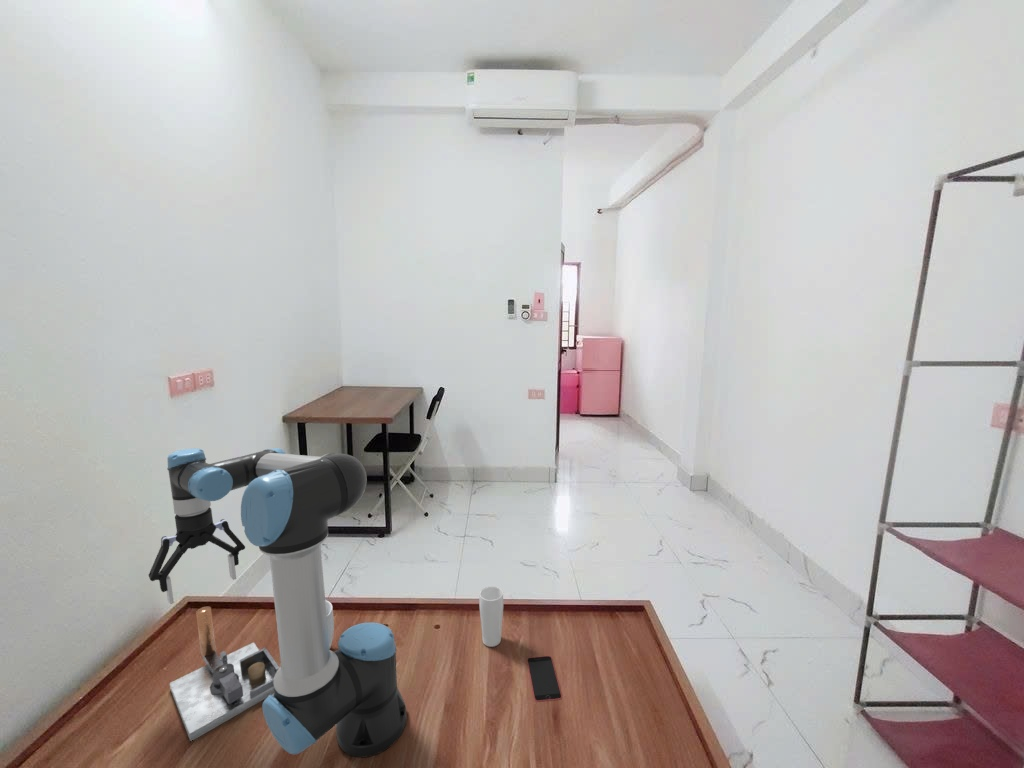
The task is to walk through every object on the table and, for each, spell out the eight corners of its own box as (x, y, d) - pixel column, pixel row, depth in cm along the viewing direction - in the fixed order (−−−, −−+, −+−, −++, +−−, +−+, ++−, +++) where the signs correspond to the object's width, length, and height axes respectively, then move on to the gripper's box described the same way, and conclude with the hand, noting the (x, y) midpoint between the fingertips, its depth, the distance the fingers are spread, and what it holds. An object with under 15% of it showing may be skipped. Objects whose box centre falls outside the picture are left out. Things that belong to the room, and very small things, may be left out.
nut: (268, 677, 113) (267, 666, 112) (253, 687, 110) (251, 675, 109) (261, 670, 115) (260, 659, 114) (246, 679, 112) (245, 668, 112)
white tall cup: (508, 638, 129) (507, 590, 127) (494, 653, 123) (494, 603, 121) (488, 629, 133) (488, 583, 130) (475, 643, 127) (474, 595, 125)
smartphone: (534, 701, 108) (526, 657, 122) (534, 703, 108) (526, 659, 122) (563, 698, 109) (551, 655, 122) (562, 700, 109) (551, 657, 122)
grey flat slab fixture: (281, 689, 112) (279, 667, 111) (190, 741, 98) (187, 717, 97) (254, 648, 125) (252, 629, 124) (170, 690, 112) (167, 668, 111)
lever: (246, 694, 107) (240, 643, 105) (225, 706, 104) (219, 653, 101) (216, 649, 121) (211, 603, 119) (197, 658, 118) (191, 611, 116)
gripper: (243, 492, 124) (251, 563, 127) (126, 523, 106) (138, 605, 109) (252, 499, 119) (261, 573, 122) (131, 533, 101) (144, 619, 104)
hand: (203, 589), depth 115 cm, fingers open, 13 cm apart
